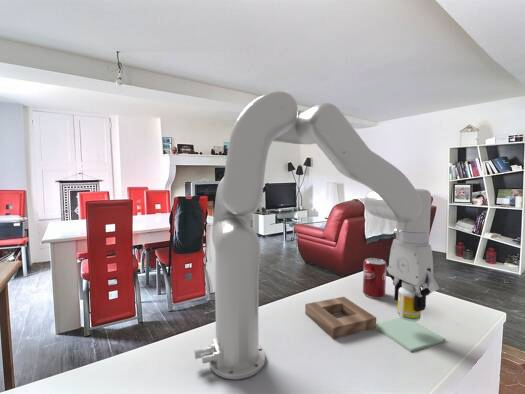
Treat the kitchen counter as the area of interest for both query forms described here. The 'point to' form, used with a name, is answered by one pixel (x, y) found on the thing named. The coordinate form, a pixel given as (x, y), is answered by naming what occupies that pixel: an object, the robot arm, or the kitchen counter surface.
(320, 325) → the block
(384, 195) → the robot arm
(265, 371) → the kitchen counter surface
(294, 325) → the kitchen counter surface
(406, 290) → the supplement bottle
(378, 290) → the soda can
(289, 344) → the kitchen counter surface
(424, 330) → the place mat
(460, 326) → the kitchen counter surface
